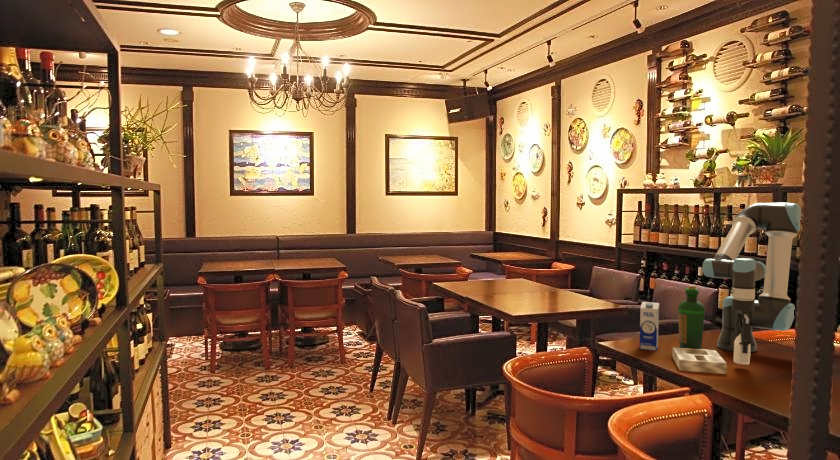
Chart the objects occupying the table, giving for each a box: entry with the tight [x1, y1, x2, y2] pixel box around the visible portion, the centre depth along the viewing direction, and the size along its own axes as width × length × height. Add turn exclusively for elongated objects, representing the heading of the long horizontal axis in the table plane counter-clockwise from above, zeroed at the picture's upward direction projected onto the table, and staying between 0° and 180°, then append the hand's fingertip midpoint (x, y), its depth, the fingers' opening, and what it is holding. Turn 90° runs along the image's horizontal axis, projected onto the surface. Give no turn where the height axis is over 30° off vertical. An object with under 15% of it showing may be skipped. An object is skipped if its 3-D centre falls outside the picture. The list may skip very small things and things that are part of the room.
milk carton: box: [639, 301, 660, 352], centre depth 258 cm, size 7×7×20 cm
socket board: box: [671, 347, 728, 375], centre depth 232 cm, size 16×21×4 cm
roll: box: [733, 334, 751, 366], centre depth 227 cm, size 6×12×6 cm
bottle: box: [677, 284, 706, 349], centre depth 255 cm, size 11×11×28 cm
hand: (741, 358), depth 227 cm, fingers closed on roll, 6 cm apart
